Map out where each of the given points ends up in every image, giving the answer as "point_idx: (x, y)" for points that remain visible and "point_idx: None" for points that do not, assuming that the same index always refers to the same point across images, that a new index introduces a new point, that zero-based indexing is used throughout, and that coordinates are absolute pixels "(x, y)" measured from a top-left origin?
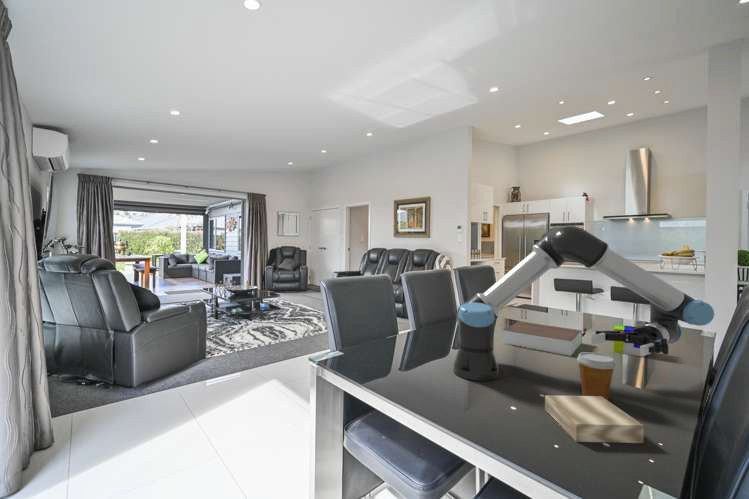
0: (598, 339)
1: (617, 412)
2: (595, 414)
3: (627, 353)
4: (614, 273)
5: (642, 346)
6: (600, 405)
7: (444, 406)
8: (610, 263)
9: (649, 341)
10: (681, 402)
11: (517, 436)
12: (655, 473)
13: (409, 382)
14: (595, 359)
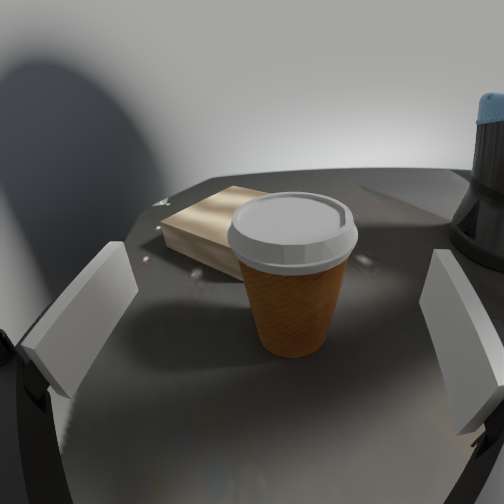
0: (444, 323)
1: (198, 225)
2: (223, 206)
3: None
4: None
5: (111, 244)
6: (228, 226)
7: (376, 180)
8: None
9: (29, 471)
10: (82, 489)
11: (284, 186)
12: (155, 216)
13: (451, 187)
14: (283, 209)
